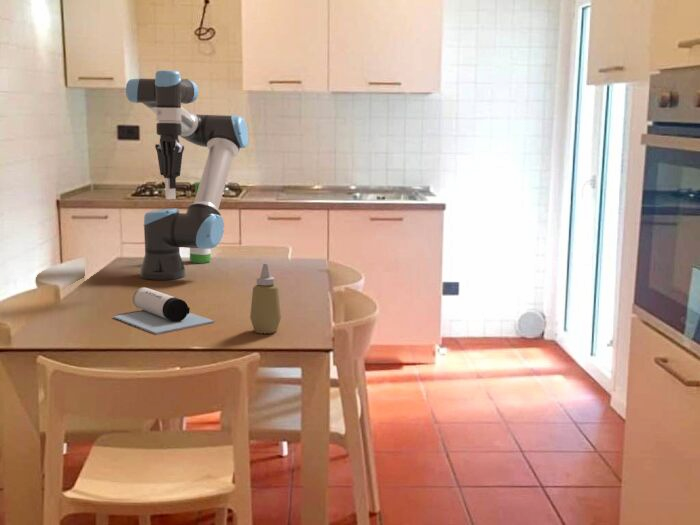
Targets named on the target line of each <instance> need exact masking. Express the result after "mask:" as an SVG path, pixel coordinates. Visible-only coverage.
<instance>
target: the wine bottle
mask: <svg viewBox="0 0 700 525" xmlns="http://www.w3.org/2000/svg"><path fill="white" fill-rule="evenodd" d="M199 184H200V182H196V183H195V184H194V185H195V186H194V188H195V189H194V197H195V198H196V195H197V191H198V188H199ZM211 249H212V248H211ZM211 249H200V248H189V260H190V262H191V263H194V264H207V263H209V262H210V261H211V257H212V255H211Z"/></svg>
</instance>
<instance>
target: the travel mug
mask: <svg viewBox="0 0 700 525" xmlns="http://www.w3.org/2000/svg"><path fill="white" fill-rule="evenodd" d="M132 303H133V305H134V306H135V307H136V308H138V309H140V310H141V311H147V312H150V313H152V314H155V315H158V316H160V317H163V318H166V319H168V320H171V321H174V322H179V321H181V320H183V319H184V318H185V317H186V316H187V314H189V313H190V307H189V305H188V304H187V302H186V301H185V300H183V299H180V298H178V297H175V296H172V295H170V294H167V293H163V292H161V291H157V290H155V289H151V288H149V287H144V286H143V287H140V288H137V289H136V290H135V292H134V293H133V296H132Z"/></svg>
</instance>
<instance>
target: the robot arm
mask: <svg viewBox="0 0 700 525" xmlns="http://www.w3.org/2000/svg"><path fill="white" fill-rule="evenodd" d="M125 86H126V87H125V95H126V97H127V100H128V101H129V102H131V103H136V104H138V103H139V104H143V105H144V106H146V107H147V108H148V109H149V110H151V111H152V112H153V113H155V115H156V116H155V117H156V118H155V119H156V121H158V122H157V123H156V135H157V136H160V137H159V143H158V144H157V143H156V144H155V145H154V148H155V150H156V152H157V153H156V155H157V160H158V167H159V174H160V175H161V176H163V178H164V187H165V188H164V189H165V191H164V192H165V199H166V200H176V199H177V195H176V187H177V182H176V180H177V178H178V177H180V176H181V170H182V161H183V153H184V151H185V146H184V145H181V144H180V139H179V137H180V138H182V139H184V140H186V141H188V142H189V143H190V144H191V143H192V144H194V145H197V146H200V147H204V148H207V149H208V153H207V154H208V155H207V158H206V161H205V165H204V168H203V171H202V175H201V179H200V181H199V183H200V184H199V188H198V191H197V195H196V198H195V199H194V202H193V203H191V204H189V205H188V207H187V211H186V213H185V212H183V213H182V212H180V210H179V208H175V207H174V208H173V207H172V208H165V209H164V208H163V209H156V210H151V211H147V212H146V213H145V214H144V217H143V218H144V219H143V231H144V234H143V235H144V236H143V237H144V257H143V261H142V264H141V267H140V270H139V272H140V278H142V279H146V280H154V281H166V280H175V279H180V278H183V277H185V276H186V269H185V268H186V267H185V265H184V262H183V260H182V257H181V253H180V251H181V250H180V248H185V249H186V248H188V249H190V248H200V249H214V248H216V247H218V245H219V244H220V243H221V241H222V240H223V236H224V231H225V230H224V228H225V222H224V221H225V220H224V218H223V217H222V214H221V211H219V208H220V206H221V205H220V204H221V202H222V199H223V194H224V191H225V188H226V182H227V179H228V176H229V173H230V169H231V165H232V162H233V159H234V158H235V157H237V156H238V155H239V152H240V149H245V148H246V147H247V146H248V143H249V132H248V131H249V130H248V126H247V123H246V120H245V119H244V117H243V116H241V115H233V114H231V115H225V114H224V115H222V114H216V115H215V114H196V113H194V112H193V111H191V110H187V109H185V108H184V107H183V106H182V105H183V104H191V103H194V102H195V101H196V100H197V99H198V96H199V87H198V86H197V84H196V83H195V82H194V81H192V80H190V79H188V78H181V73H180V71H178V70H158V71H156V72H155V77H154V78H141V77H138V78H131V79H129V80H128V81H127V82H126V85H125Z"/></svg>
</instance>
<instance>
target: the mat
mask: <svg viewBox="0 0 700 525" xmlns="http://www.w3.org/2000/svg"><path fill="white" fill-rule="evenodd" d="M113 319H115V320H117V319H118V321H120V320H121V321H120V322H122V321H124V322H123V323H125V322H126V323H125V324H128V325H130V324H131V326H133V327H135V326H136V328H138V327H139V328H138V329H141V330H143V329H144V331H146V332H149V333H152V334H153V335H160V334H165V333H170V332H174V331H179V330H184V329H185V330H186V329H189V328H195V327H200V326H205V325H209V324H214V323H215V320H213V319H210V318H208V317H207V318H206V317H204V316H202V315H201V316H200V315H198V314H195V313H192V312H189V314H187V316H186V317H185V318H184V319H183V320H181V321H179V322H174V321H171V320H168V319H166V318H163V317H160V316H158V315H155V314H152V313H150V312H147V311H145V310H140V311H136V312H135V311H134V312H131V313H130V312H129V313H125V314H119V315H113Z"/></svg>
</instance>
